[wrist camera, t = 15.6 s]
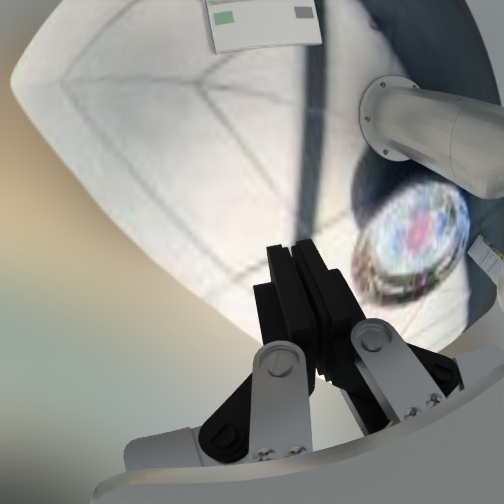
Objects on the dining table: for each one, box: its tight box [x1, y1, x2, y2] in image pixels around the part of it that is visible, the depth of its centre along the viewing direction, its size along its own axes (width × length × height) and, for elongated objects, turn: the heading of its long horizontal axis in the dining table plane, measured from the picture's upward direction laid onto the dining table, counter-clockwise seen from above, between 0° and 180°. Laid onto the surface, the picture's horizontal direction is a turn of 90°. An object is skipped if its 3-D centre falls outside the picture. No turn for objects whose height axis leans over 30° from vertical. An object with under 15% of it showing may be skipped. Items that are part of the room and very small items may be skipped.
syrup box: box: [467, 234, 504, 285], centre depth 40 cm, size 6×6×14 cm
